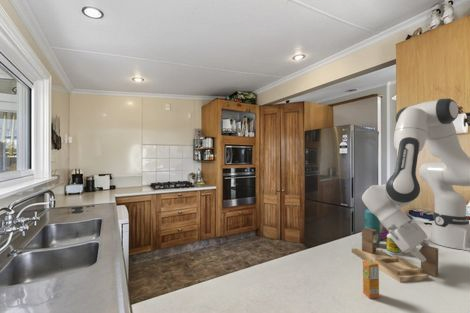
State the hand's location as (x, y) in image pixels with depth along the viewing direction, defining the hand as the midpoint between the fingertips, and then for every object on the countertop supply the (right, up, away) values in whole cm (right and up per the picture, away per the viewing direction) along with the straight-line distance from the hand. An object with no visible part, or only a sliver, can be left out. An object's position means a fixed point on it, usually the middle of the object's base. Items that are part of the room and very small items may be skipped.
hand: (428, 257), depth 83 cm
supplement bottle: (0, -6, +18) cm, 18 cm away
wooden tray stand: (-11, -6, +7) cm, 14 cm away
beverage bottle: (-5, -6, +26) cm, 27 cm away
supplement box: (-28, -6, -14) cm, 32 cm away
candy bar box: (+5, -6, +36) cm, 37 cm away
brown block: (0, -6, 0) cm, 6 cm away
